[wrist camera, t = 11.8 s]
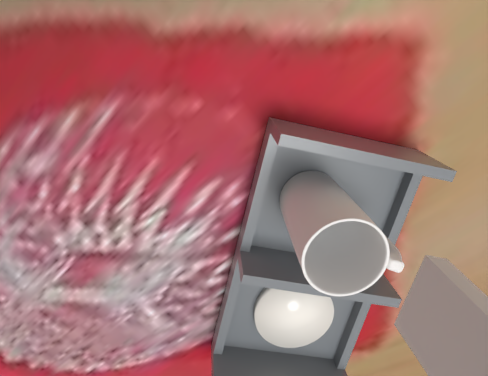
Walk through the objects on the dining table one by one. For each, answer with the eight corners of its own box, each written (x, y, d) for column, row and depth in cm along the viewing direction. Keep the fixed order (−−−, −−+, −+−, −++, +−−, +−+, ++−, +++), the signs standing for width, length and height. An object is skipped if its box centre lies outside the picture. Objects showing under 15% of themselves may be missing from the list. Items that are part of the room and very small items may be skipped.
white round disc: (245, 335, 47) (246, 342, 46) (264, 269, 44) (266, 275, 43) (318, 345, 49) (320, 352, 47) (341, 282, 46) (344, 288, 44)
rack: (211, 344, 48) (211, 392, 42) (269, 117, 39) (281, 133, 33) (336, 360, 51) (354, 408, 44) (417, 149, 42) (456, 171, 35)
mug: (266, 217, 42) (287, 284, 31) (290, 158, 40) (323, 207, 29) (352, 243, 44) (401, 314, 33) (379, 188, 42) (442, 244, 31)
